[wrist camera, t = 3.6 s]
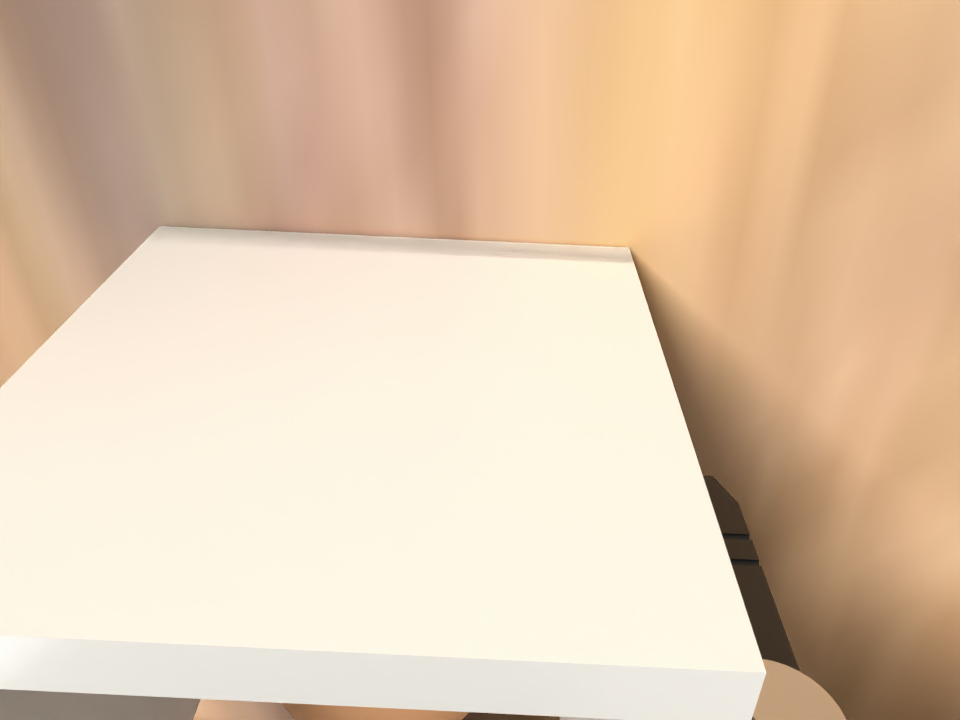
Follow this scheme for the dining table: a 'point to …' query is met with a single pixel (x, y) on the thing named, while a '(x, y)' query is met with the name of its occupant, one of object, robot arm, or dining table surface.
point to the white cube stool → (361, 490)
